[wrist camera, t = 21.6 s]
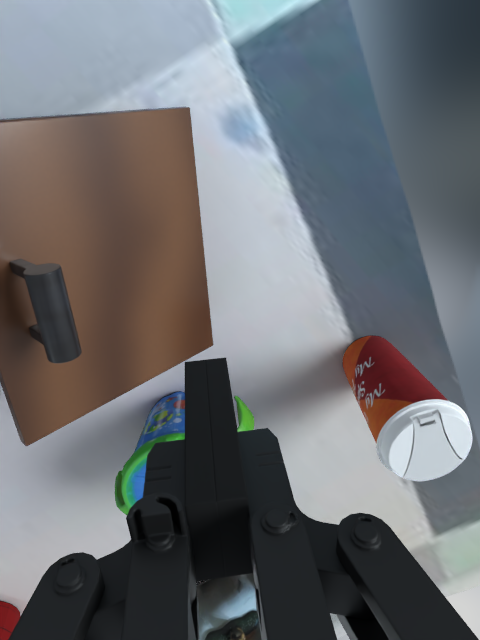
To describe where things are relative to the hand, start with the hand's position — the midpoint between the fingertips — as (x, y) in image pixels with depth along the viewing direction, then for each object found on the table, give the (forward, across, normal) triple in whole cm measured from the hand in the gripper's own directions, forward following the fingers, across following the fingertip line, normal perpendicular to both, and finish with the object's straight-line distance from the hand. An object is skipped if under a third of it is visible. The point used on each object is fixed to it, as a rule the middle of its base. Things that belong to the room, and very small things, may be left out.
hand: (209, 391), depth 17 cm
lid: (+15, -6, 0) cm, 16 cm away
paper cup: (+26, +16, -16) cm, 34 cm away
